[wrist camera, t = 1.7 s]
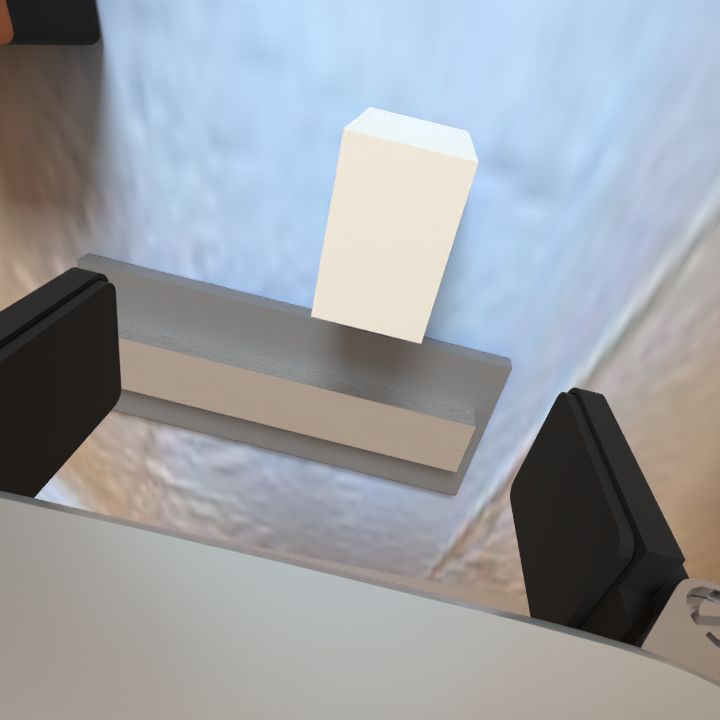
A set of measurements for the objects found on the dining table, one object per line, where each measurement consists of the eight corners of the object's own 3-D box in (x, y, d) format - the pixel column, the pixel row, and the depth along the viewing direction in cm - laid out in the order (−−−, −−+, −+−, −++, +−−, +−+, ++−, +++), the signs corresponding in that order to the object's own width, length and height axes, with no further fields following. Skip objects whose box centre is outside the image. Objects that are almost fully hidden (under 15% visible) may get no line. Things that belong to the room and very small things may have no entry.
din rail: (474, 410, 29) (475, 427, 28) (455, 455, 31) (456, 472, 30) (99, 316, 29) (84, 329, 28) (103, 366, 31) (89, 380, 30)
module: (468, 131, 23) (478, 162, 17) (422, 285, 27) (417, 356, 21) (369, 107, 23) (343, 128, 17) (338, 265, 27) (308, 329, 21)
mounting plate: (509, 358, 28) (512, 368, 27) (455, 484, 34) (455, 495, 33) (88, 253, 28) (77, 259, 27) (100, 395, 34) (91, 404, 33)
